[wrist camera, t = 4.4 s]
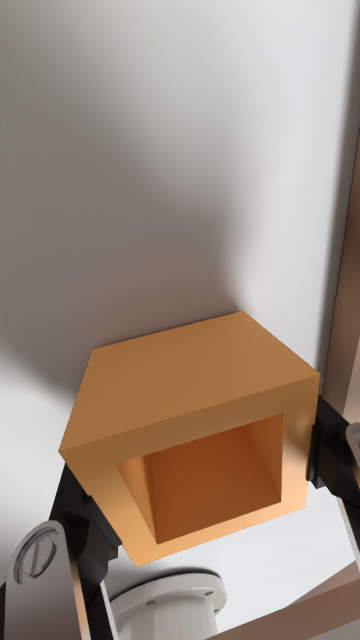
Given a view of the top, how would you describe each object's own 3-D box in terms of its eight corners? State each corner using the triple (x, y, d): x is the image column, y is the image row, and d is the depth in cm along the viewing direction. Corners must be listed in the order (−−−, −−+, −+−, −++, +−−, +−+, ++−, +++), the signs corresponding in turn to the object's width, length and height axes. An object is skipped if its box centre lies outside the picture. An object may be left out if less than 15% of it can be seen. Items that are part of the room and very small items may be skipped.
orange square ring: (249, 415, 12) (304, 507, 8) (135, 449, 12) (136, 566, 8) (242, 310, 10) (320, 374, 6) (92, 349, 9) (58, 451, 5)
